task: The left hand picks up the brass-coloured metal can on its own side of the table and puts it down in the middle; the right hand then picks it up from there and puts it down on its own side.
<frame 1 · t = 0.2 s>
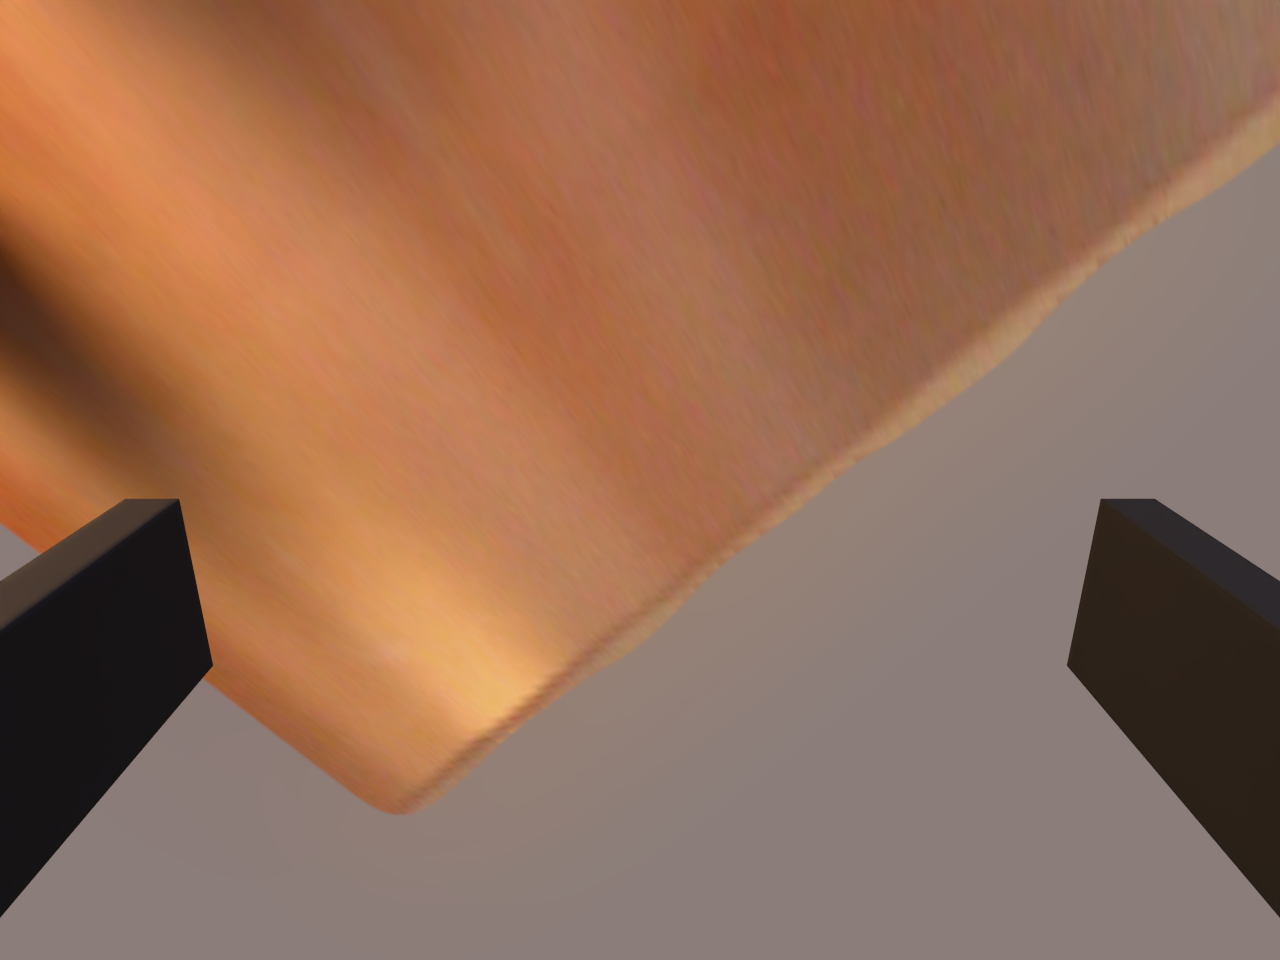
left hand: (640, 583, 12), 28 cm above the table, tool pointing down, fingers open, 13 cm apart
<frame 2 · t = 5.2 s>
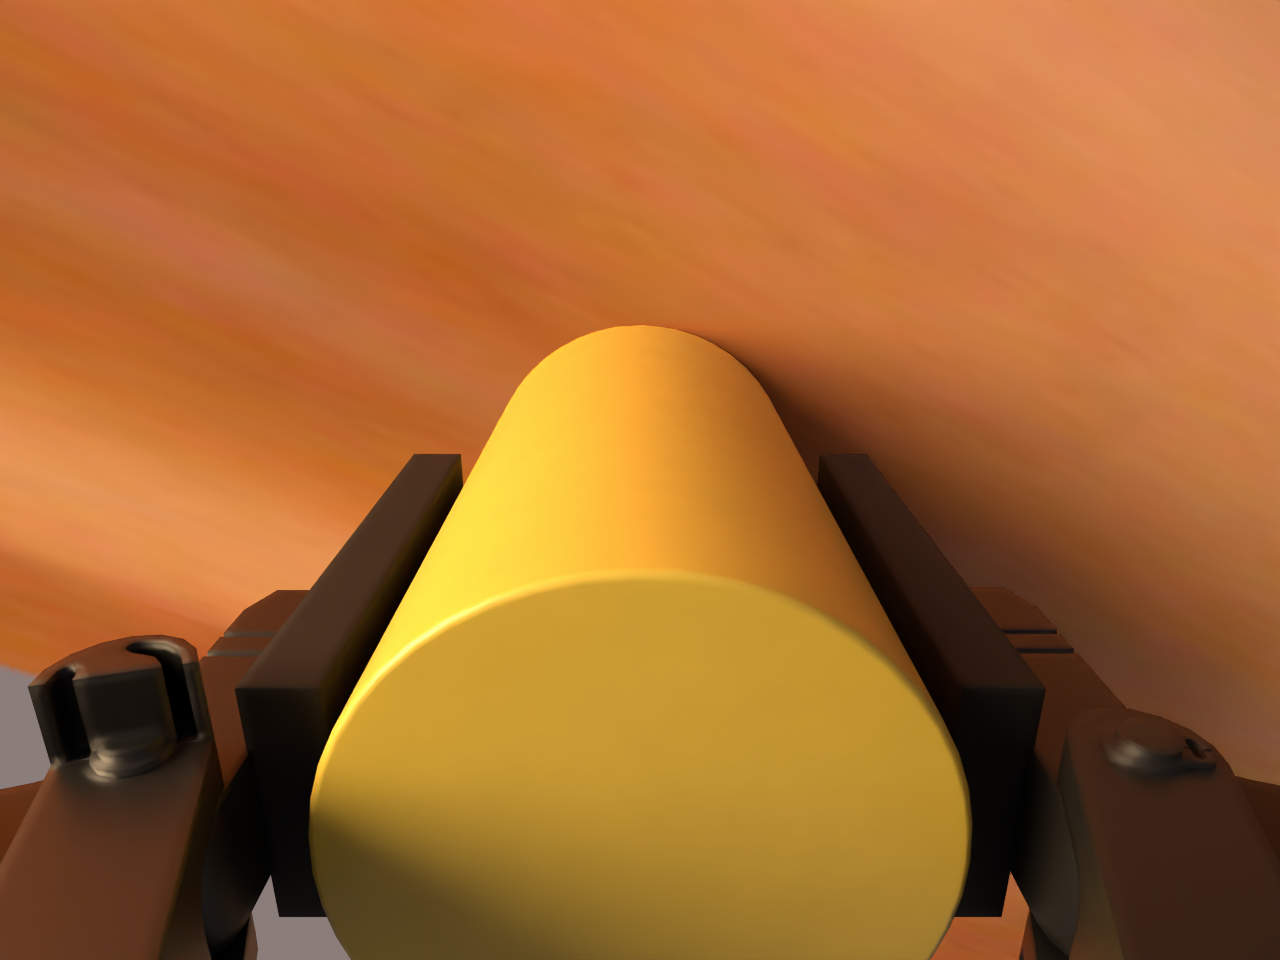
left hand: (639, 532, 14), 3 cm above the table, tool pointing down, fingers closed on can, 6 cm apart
can: (640, 469, 17), on the table, touching left hand
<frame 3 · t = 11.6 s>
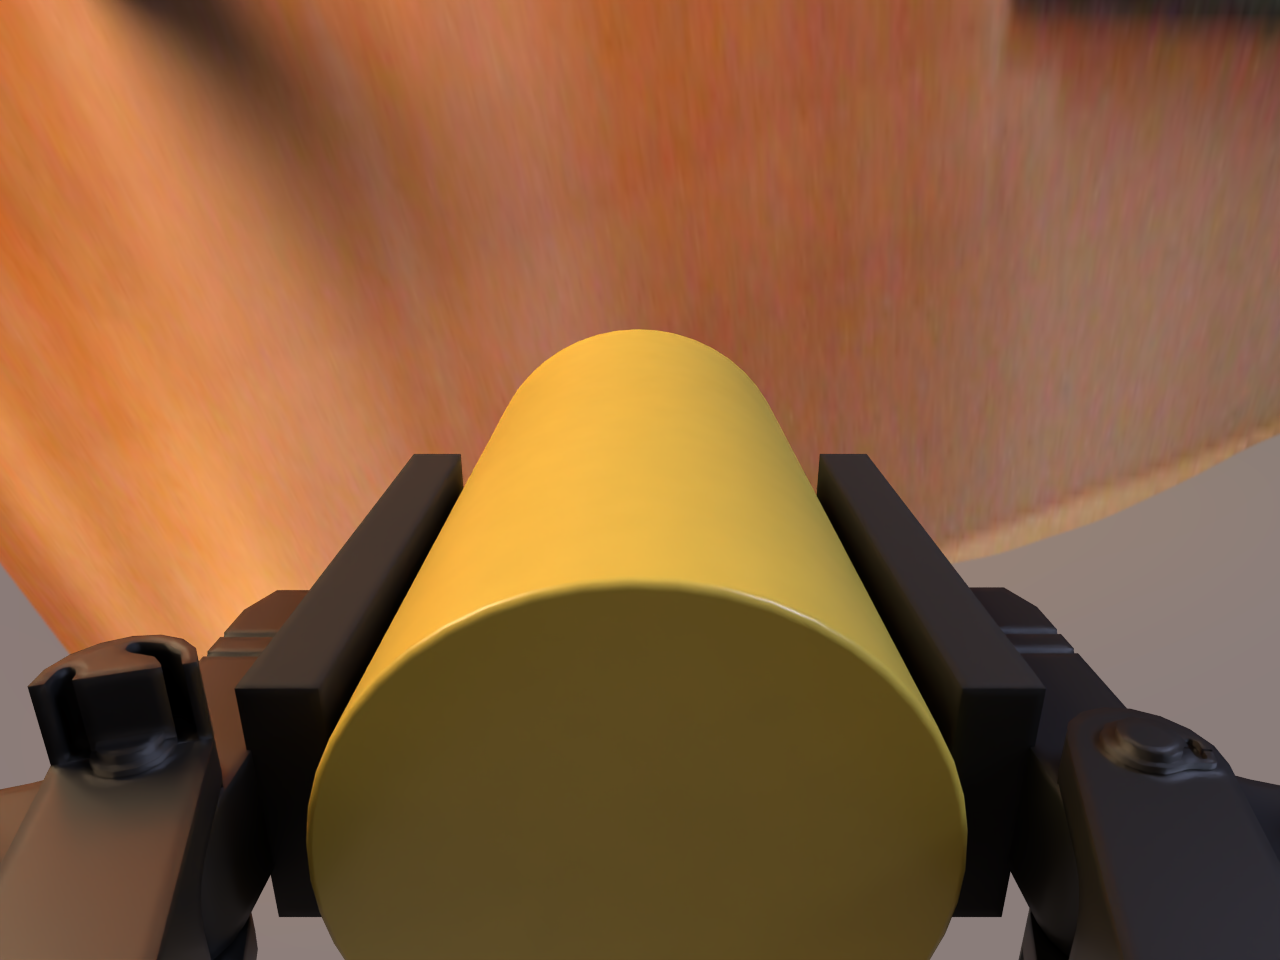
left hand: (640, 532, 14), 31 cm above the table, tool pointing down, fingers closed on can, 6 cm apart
can: (638, 473, 17), point 28 cm above the table, touching left hand
when the left hand's fingers open (4 cm above the table, at t = 17.9 s): can drops 1 cm, on the table.
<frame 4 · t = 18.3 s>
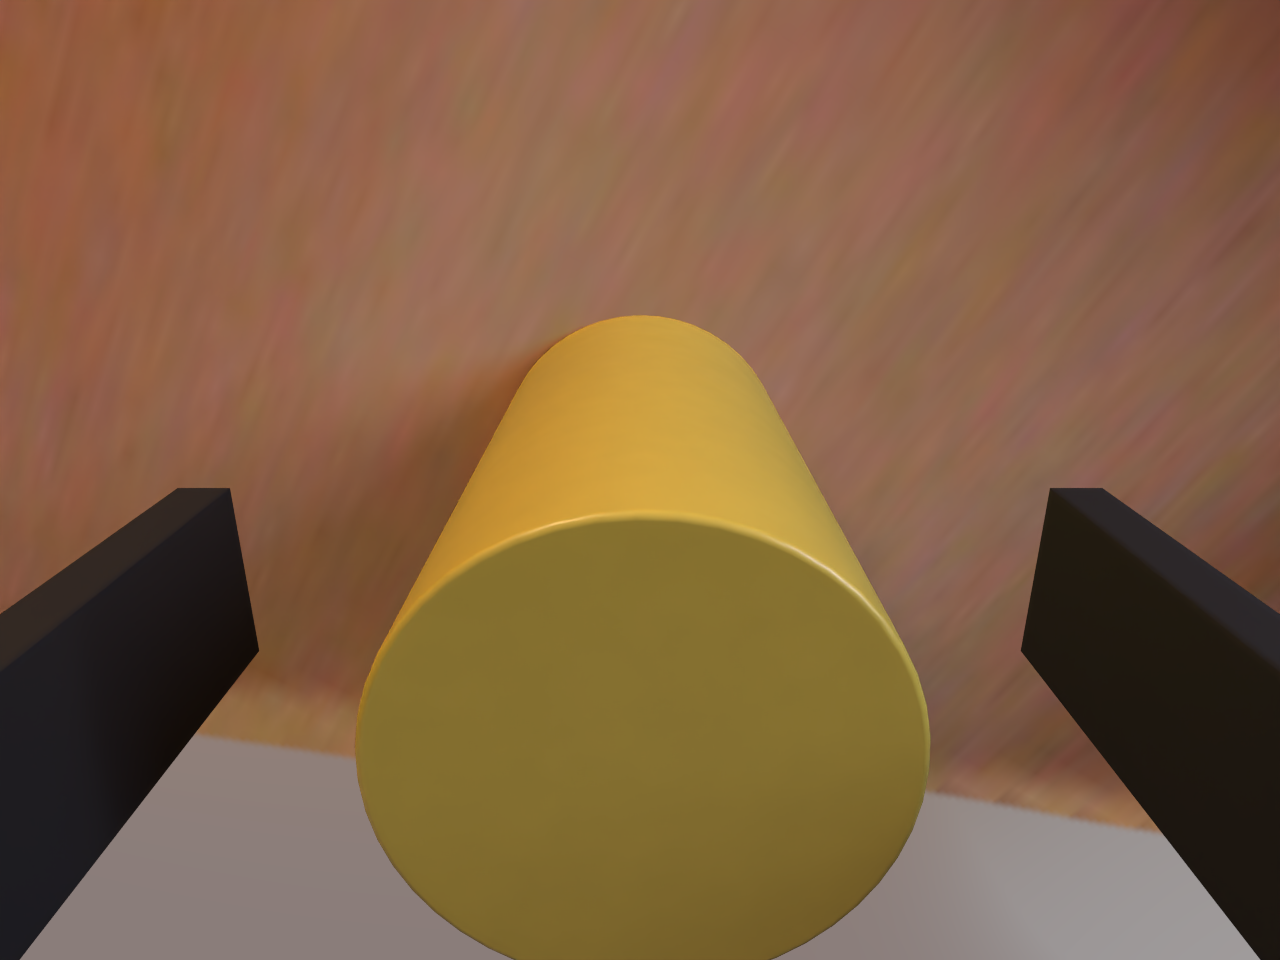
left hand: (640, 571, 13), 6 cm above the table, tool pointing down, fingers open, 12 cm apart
can: (641, 451, 18), on the table
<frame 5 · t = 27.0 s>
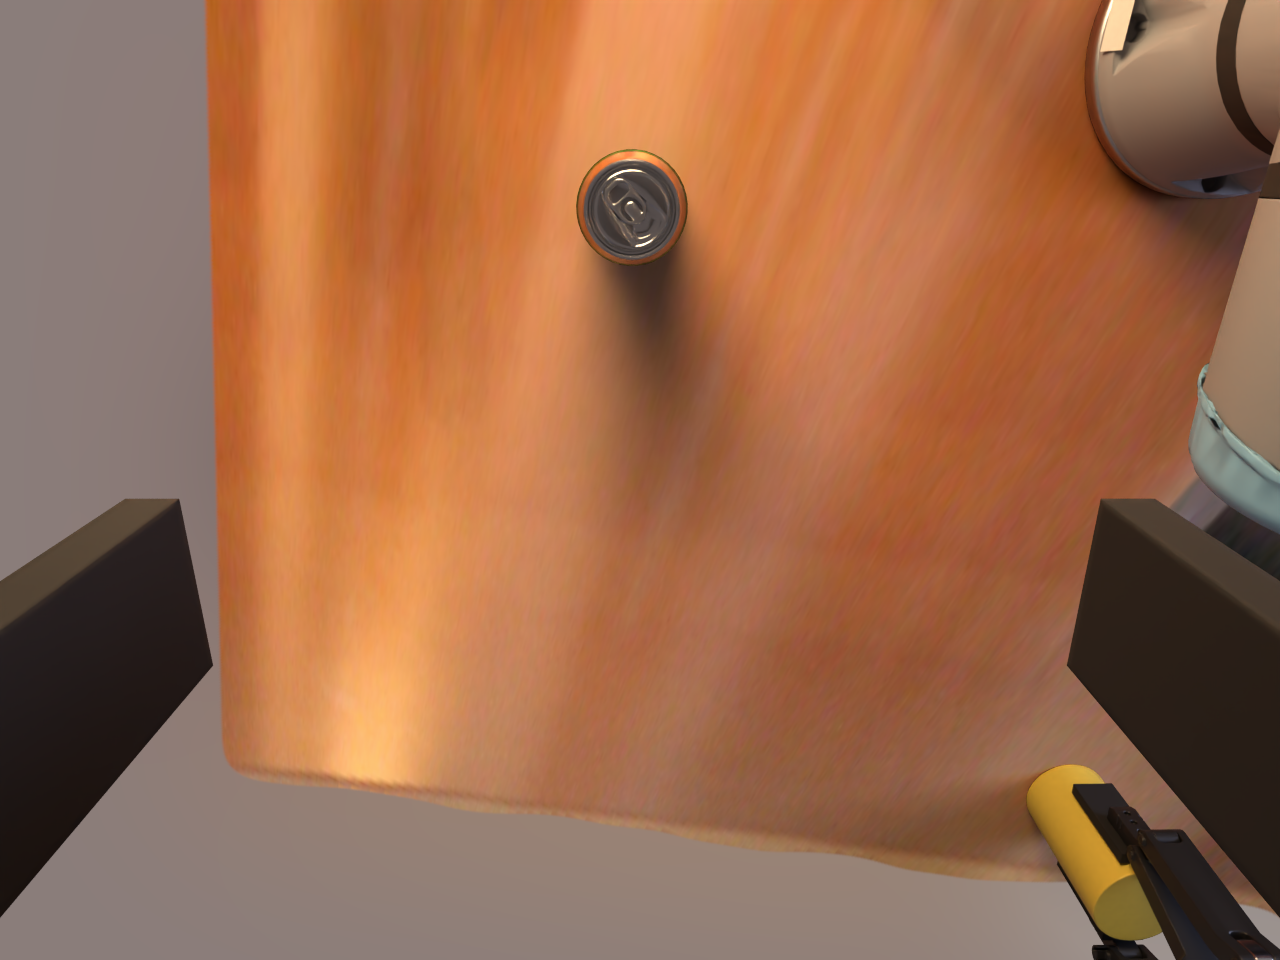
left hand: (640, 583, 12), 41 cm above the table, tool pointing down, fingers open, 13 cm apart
soda can: (633, 198, 49), on the table
can: (1064, 795, 64), on the table, touching right hand
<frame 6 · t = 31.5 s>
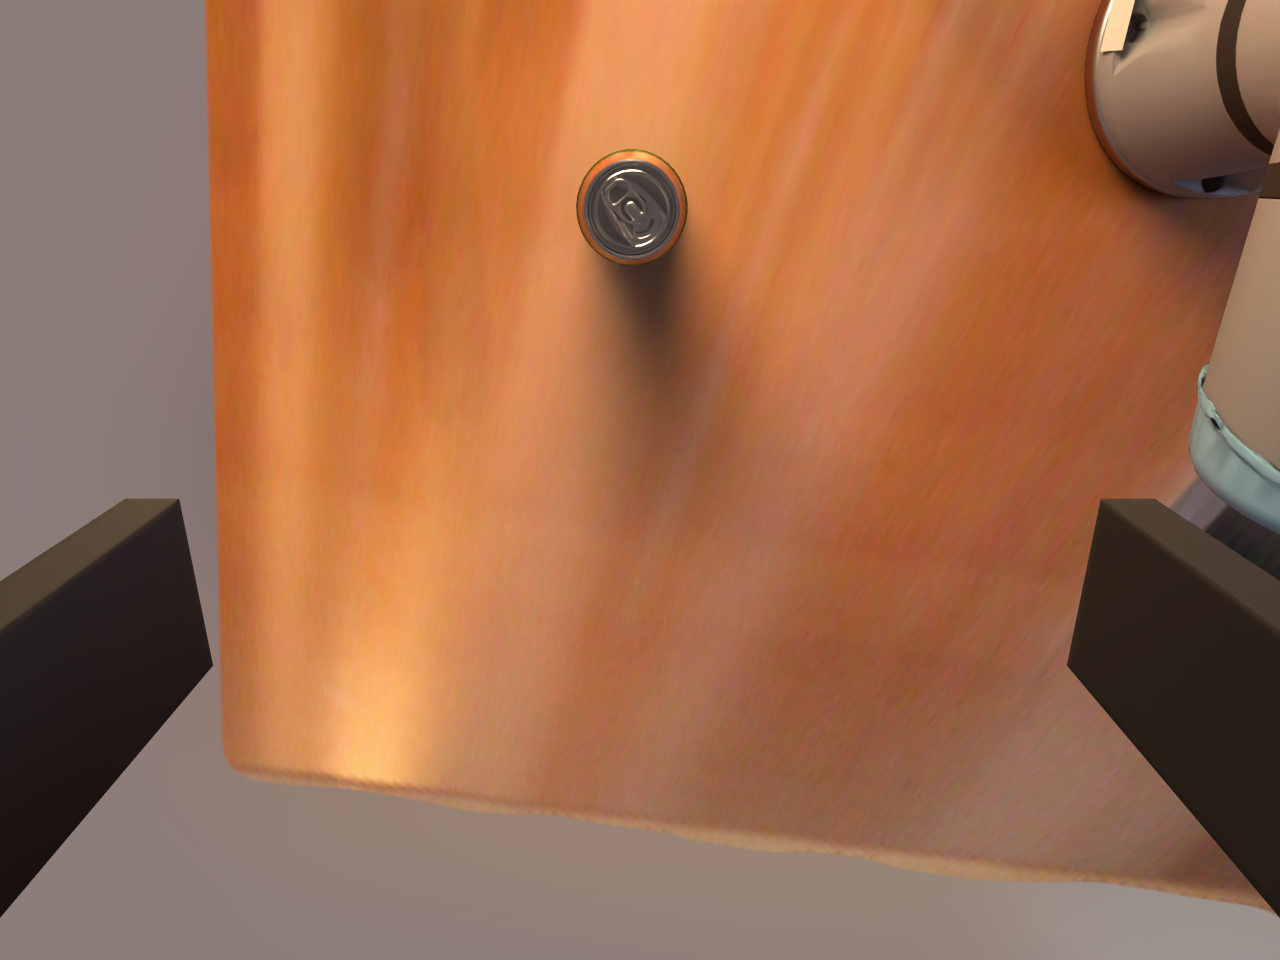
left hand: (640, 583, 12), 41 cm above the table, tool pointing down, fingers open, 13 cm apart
soda can: (633, 198, 49), on the table
when the right hand's fingers open (4 cm above the table, at t = 36.0 s): can drops 1 cm, on the table.
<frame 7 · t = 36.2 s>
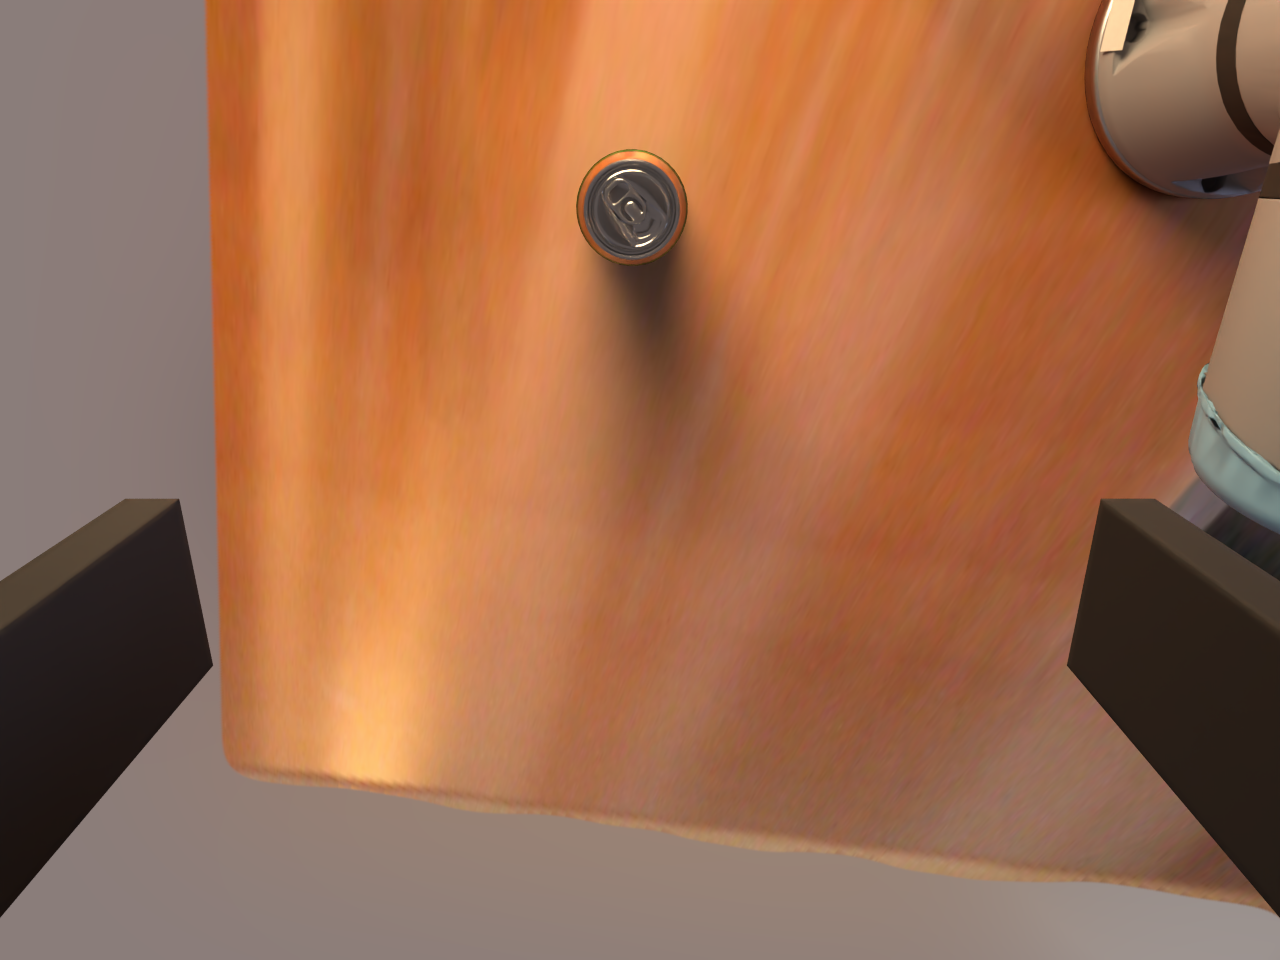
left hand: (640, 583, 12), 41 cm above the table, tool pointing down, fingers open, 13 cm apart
soda can: (633, 198, 49), on the table
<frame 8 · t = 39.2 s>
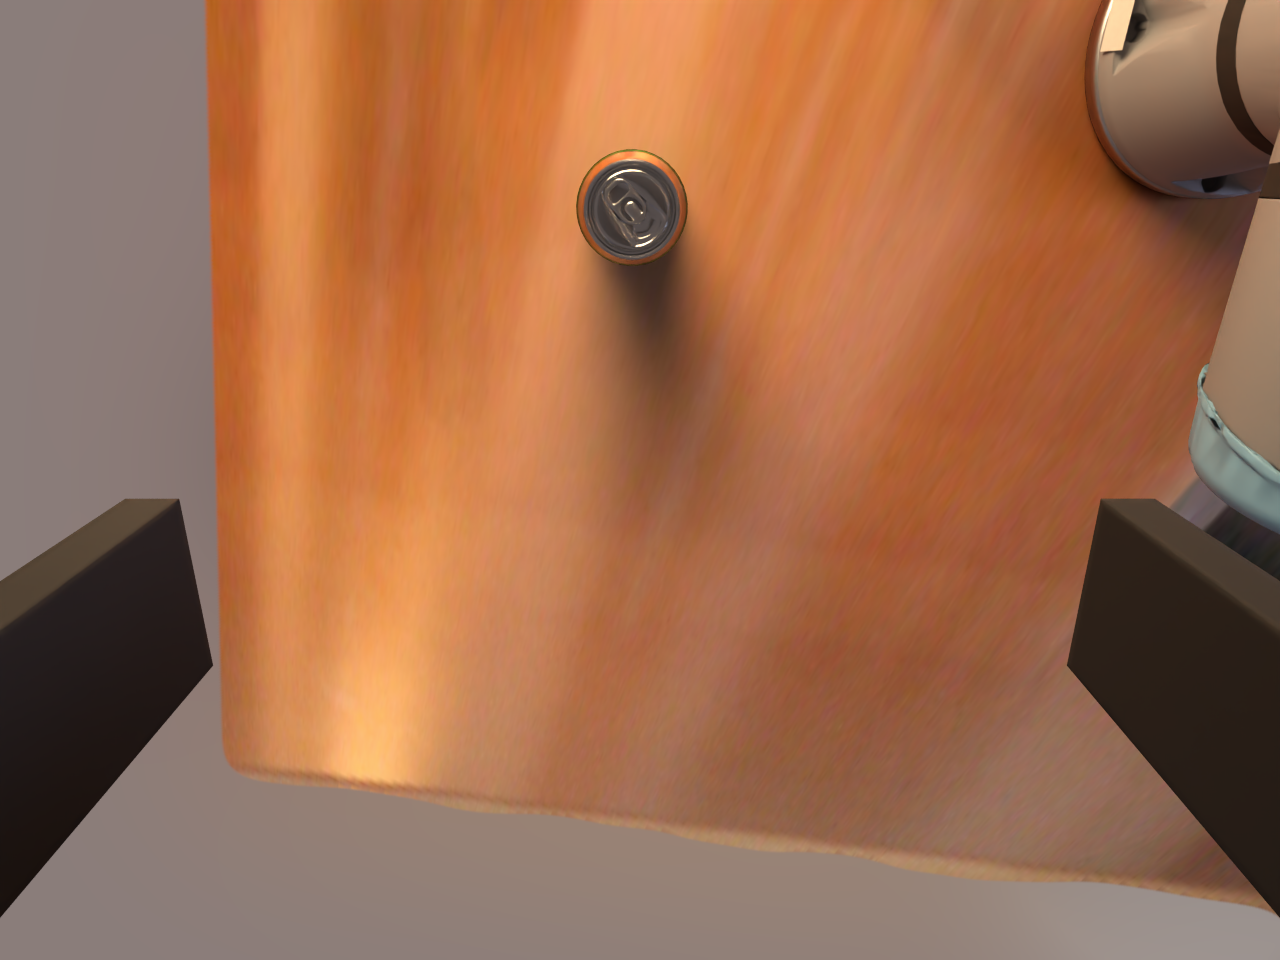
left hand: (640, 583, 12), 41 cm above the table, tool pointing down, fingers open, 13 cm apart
soda can: (633, 198, 49), on the table
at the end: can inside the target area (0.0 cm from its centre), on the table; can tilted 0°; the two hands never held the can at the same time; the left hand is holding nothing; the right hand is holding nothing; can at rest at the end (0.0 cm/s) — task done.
